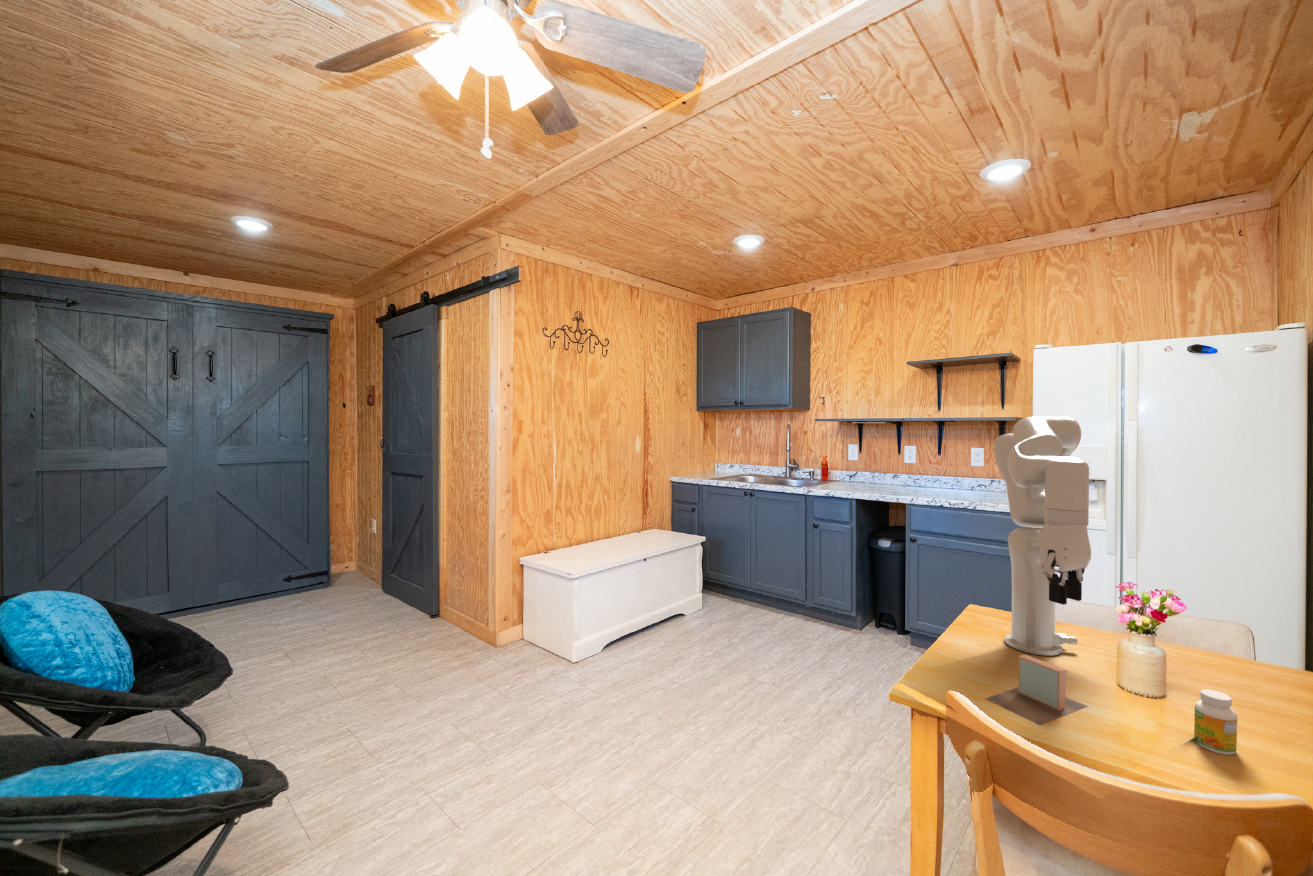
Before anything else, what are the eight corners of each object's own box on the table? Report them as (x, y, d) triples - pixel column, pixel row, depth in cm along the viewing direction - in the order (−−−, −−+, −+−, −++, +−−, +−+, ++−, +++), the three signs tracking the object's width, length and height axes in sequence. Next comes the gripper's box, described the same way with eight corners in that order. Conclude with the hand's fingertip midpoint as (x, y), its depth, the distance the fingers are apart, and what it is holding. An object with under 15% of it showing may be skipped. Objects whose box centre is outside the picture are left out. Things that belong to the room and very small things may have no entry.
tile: (1024, 690, 116) (1024, 654, 116) (1065, 708, 109) (1065, 669, 109) (1018, 692, 115) (1018, 656, 115) (1058, 710, 108) (1059, 671, 108)
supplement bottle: (1185, 739, 100) (1186, 688, 100) (1211, 737, 101) (1212, 686, 100) (1218, 756, 95) (1219, 703, 95) (1245, 755, 95) (1246, 701, 95)
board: (1031, 688, 120) (1031, 682, 120) (1087, 711, 110) (1087, 706, 110) (984, 704, 113) (984, 698, 113) (1040, 731, 103) (1040, 724, 103)
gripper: (1069, 511, 121) (1068, 590, 122) (1023, 517, 114) (1022, 601, 115) (1108, 516, 115) (1107, 600, 115) (1061, 523, 108) (1061, 612, 108)
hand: (1065, 599), depth 115 cm, fingers open, 4 cm apart
